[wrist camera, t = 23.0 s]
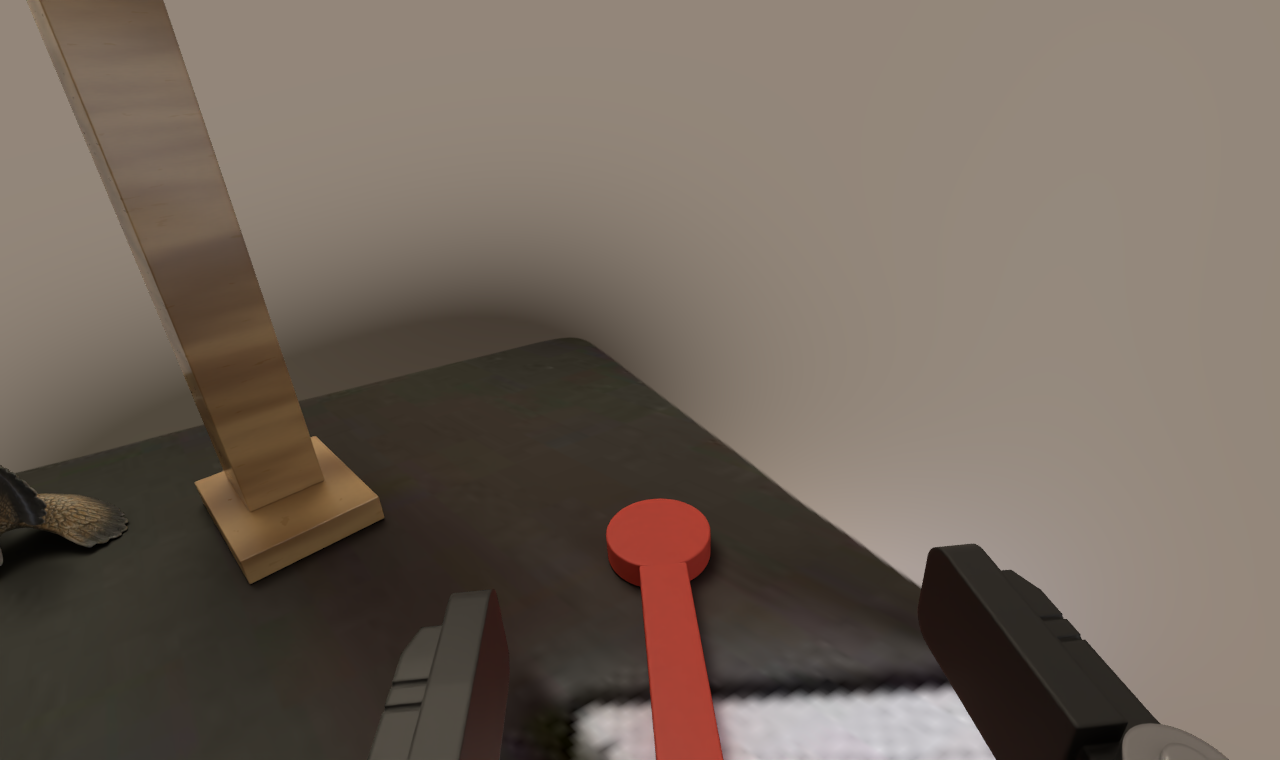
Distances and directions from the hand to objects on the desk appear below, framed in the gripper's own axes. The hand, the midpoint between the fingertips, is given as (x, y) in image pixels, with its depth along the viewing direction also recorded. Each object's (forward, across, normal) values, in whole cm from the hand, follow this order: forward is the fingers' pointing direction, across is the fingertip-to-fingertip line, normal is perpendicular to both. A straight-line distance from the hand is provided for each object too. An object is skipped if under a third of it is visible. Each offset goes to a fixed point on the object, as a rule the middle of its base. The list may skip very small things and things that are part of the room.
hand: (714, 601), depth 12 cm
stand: (+23, +21, +13) cm, 33 cm away
